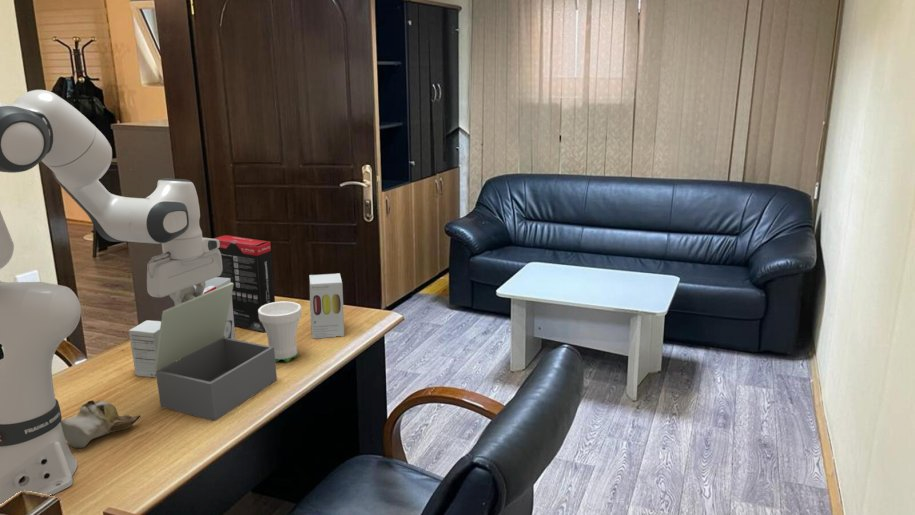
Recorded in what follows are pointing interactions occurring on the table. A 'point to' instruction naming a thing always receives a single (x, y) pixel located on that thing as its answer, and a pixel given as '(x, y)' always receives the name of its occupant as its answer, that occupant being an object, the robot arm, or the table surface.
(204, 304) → the lid flap
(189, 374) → the carton
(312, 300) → the supplement box
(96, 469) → the table surface
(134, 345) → the supplement box
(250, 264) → the graphics card box
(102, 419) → the ceramic sculpture
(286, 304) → the cup
